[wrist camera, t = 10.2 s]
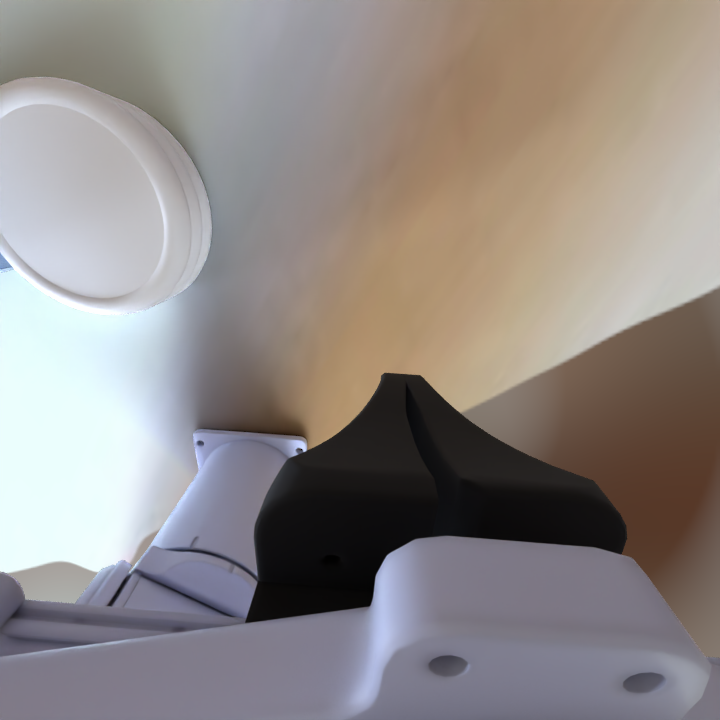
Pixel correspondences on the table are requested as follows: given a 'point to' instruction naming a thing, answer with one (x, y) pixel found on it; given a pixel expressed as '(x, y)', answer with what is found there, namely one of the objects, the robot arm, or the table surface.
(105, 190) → the white round dish
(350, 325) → the table surface
